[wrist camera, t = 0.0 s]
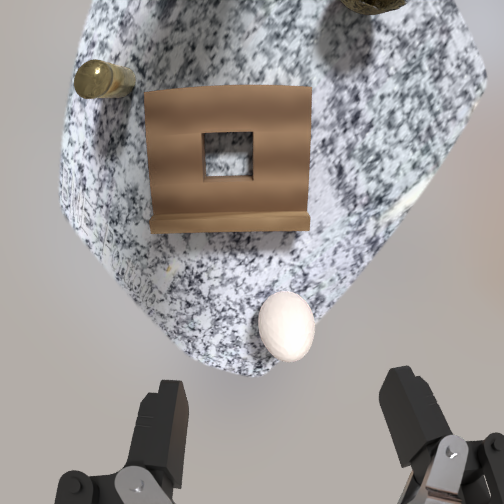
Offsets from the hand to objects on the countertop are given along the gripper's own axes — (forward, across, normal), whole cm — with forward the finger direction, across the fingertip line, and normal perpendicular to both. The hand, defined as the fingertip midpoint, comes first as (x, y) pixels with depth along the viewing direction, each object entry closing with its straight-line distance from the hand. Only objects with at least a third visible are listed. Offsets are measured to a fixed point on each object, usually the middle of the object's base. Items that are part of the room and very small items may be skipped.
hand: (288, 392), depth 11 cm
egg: (+30, -4, +17) cm, 34 cm away
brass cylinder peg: (+29, +16, -14) cm, 36 cm away
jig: (+29, +3, -4) cm, 30 cm away
